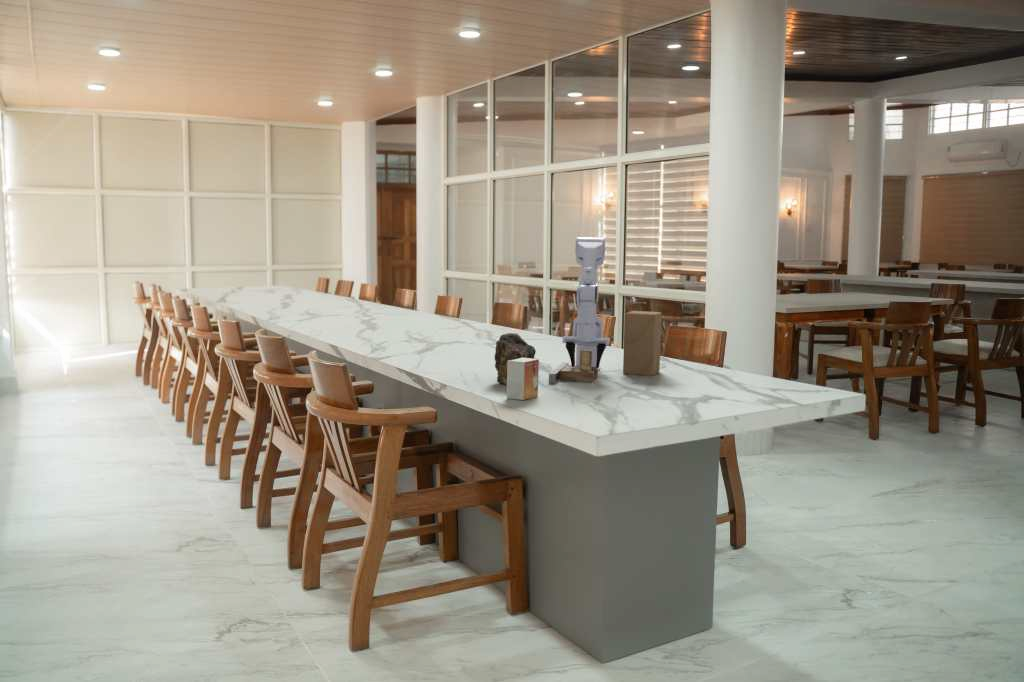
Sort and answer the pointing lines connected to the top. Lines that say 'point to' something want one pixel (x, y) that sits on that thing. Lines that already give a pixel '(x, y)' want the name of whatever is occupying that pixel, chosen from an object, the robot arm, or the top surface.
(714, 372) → the top surface
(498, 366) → the rock
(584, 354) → the dowel
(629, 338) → the wooden block
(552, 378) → the rail
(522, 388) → the small box
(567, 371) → the block
